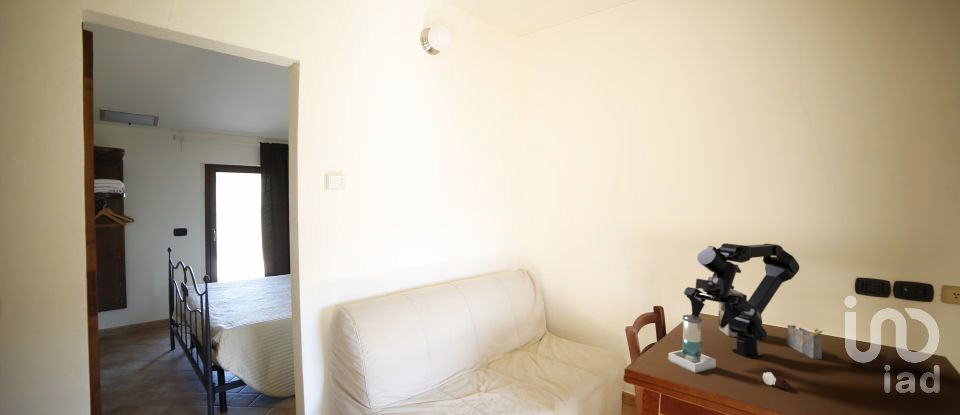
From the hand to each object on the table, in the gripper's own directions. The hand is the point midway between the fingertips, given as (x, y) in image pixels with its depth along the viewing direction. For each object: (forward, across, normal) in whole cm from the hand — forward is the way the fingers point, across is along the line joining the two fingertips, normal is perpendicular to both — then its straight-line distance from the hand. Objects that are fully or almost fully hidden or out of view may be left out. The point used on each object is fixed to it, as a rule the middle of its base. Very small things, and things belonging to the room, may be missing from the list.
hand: (707, 323), depth 117 cm
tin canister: (+13, -2, +2) cm, 13 cm away
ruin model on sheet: (-9, +5, +42) cm, 43 cm away
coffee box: (-8, -16, +37) cm, 41 cm away
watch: (+9, +15, +12) cm, 22 cm away
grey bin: (+13, -2, +3) cm, 14 cm away
